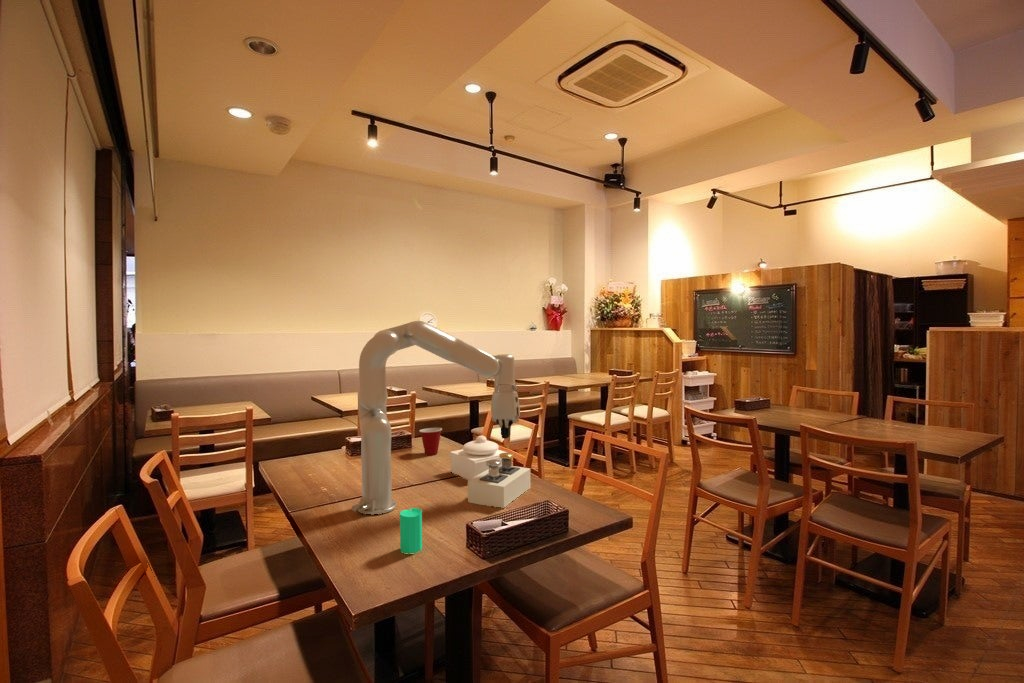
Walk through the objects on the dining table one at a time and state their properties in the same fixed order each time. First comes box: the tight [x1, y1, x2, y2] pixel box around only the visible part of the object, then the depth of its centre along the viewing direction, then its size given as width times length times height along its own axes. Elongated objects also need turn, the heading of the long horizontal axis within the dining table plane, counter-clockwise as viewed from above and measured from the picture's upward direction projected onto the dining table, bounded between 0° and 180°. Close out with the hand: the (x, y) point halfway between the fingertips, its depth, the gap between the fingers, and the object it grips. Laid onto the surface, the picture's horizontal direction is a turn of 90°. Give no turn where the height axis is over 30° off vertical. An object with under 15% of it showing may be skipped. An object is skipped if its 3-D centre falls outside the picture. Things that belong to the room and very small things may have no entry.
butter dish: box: [449, 435, 508, 481], centre depth 198 cm, size 18×18×16 cm
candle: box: [399, 507, 423, 554], centre depth 132 cm, size 6×6×12 cm
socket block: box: [467, 464, 532, 509], centre depth 173 cm, size 22×14×8 cm, turn 154°
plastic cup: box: [419, 427, 443, 456], centre depth 228 cm, size 11×11×12 cm
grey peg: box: [486, 460, 501, 480], centre depth 168 cm, size 5×5×8 cm
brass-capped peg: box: [499, 452, 515, 472], centre depth 177 cm, size 5×5×8 cm
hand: (505, 437), depth 177 cm, fingers closed
